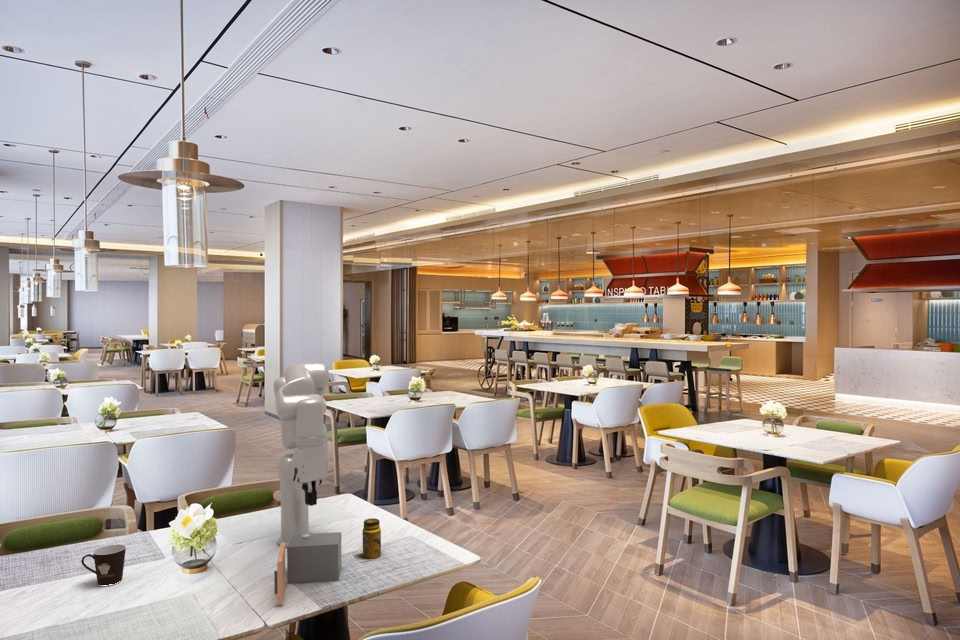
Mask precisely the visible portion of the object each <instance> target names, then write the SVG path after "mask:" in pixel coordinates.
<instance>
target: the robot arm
mask: <svg viewBox="0 0 960 640" xmlns="http://www.w3.org/2000/svg"><path fill="white" fill-rule="evenodd" d="M329 382H330V372H329V369H328V367H327V365H326V364H325V363H322V362H299V363H293V364H290V365H289V366H288V367H286V369H285V371H284V376H281V377H277V378H276V379H275V380H274V382H273V393H274V396H275V400H274V401H275V410H276V413H277V417H278V419H279V420H281V421H280V422H281V423H280V427H281V430H280V431H281V432H280V433H281V443H282V446H283V448H284V449H286V450H293V452H290V453H286V454H284V455H282V456H280V457H279V458H278V462H277V471H278V477H279V488H280V533H281V534H280V536H278V537H277V538H276V544H277V546H279V547H280V545H281V544H282V543H285V548H287V546H288V544H289V542H290V540H291V538H292V536H293V535H298V534H311V533H310V532H309V531H310V529H309V527H310V526H309V523H310V521H309V520H310V519H309V514H310V513H309V512H310V511H309V506H311V507H312V506H317V502H318V491H319V489H320V486H321V484H322V483H324V482H326V481H327V480H328V475H329V448H328V447H329V446H328V445H329V444H328V443H329V442H328V438H329V437H328V429H327V426H326V424H325V423H324V415H325V414H326V412H327V401H326V399H325V398H324V395H325V394H326V391H327V388H328V386H329Z"/></svg>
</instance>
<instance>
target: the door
mask: <svg viewBox="0 0 960 640" xmlns="http://www.w3.org/2000/svg"><path fill="white" fill-rule="evenodd" d="M276 562H277V563H276V570H274V572H273V578H274V579H273V583H274V584H273V585H274V587H273V588H274V589H273V591H274V595H277V606H283V603H284V602H283V601H284V596H285V595H284V594H285V589H286V547H285V543H282V544H281V545H280V546H279V551H278V555H277V561H276Z"/></svg>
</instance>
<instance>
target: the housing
mask: <svg viewBox="0 0 960 640" xmlns="http://www.w3.org/2000/svg"><path fill="white" fill-rule="evenodd" d="M286 558H287V559H286V563H287V564H286V566H287V567H286V568H287V571H286V572H287V573H286V574H287V576H286V577H287V581H286V582H287V584H288V585H289V584H305V583H321V582H333V581H339V580H340V574H341V571H342V568H343V567H342V565H343V564H342V532H341V531H336V532H319V533H318V532H317V533H310V534H298V535H293V536H292V538H291V540H290V542H289V544H288V546H287V547H286Z"/></svg>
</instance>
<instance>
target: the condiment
mask: <svg viewBox="0 0 960 640" xmlns="http://www.w3.org/2000/svg"><path fill="white" fill-rule="evenodd" d="M380 522H381V521H380V519H378V518H374V517H373V518H367V519H364V521H363V529H362V553H356V554H355V553H354V554H353V557H355V559H357V560H358V561H359V562H360V563H364V562H371V561H374V560H377V559H378V560H379V559H383V558H385V557H386V556H385V555H383V554H382V542H381V541H382V534H381V533H382V531H381V527H380Z"/></svg>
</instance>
